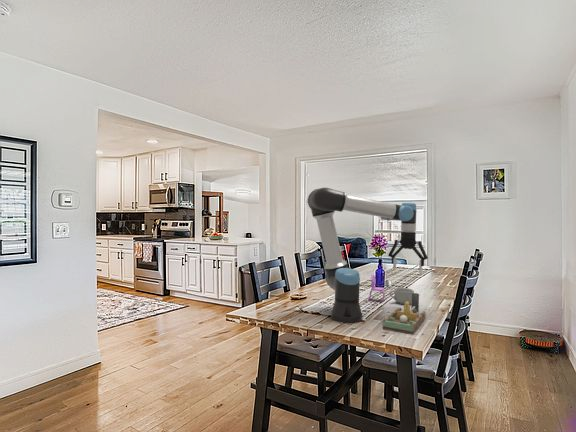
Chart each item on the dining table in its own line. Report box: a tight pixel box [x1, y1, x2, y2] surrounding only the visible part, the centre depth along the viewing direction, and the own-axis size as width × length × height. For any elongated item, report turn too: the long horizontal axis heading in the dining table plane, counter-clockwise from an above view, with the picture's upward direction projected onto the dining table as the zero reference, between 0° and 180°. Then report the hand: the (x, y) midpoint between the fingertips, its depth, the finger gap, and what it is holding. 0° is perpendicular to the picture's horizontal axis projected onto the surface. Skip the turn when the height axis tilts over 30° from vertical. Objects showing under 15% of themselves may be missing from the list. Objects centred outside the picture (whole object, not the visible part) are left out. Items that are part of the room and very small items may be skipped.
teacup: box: [388, 287, 415, 305], centre depth 212 cm, size 14×11×8 cm
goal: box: [382, 317, 414, 331], centre depth 163 cm, size 8×13×2 cm, turn 60°
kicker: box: [397, 292, 420, 320], centre depth 183 cm, size 21×9×9 cm, turn 149°
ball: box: [400, 315, 408, 323], centre depth 169 cm, size 4×4×4 cm
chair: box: [367, 274, 386, 303], centre depth 216 cm, size 8×9×15 cm
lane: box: [382, 307, 427, 335], centre depth 172 cm, size 28×13×4 cm, turn 150°
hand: (407, 271), depth 198 cm, fingers open, 13 cm apart
